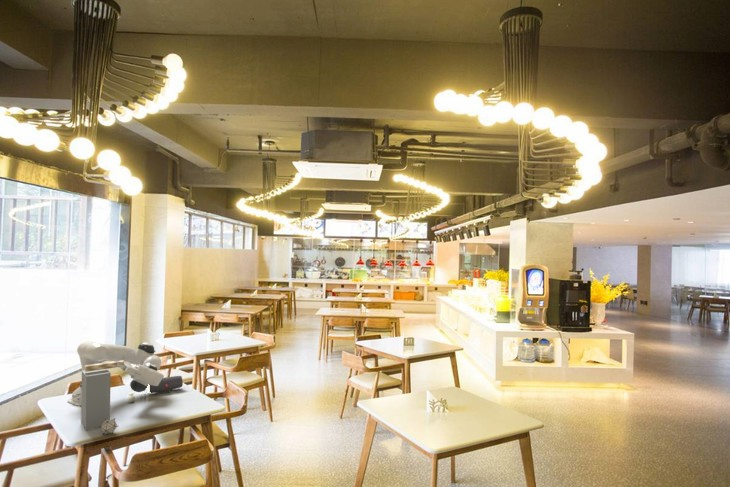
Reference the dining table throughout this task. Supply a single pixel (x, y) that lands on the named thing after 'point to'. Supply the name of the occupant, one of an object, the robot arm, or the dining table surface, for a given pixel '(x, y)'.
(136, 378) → the robot arm
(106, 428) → the dark-edged faceted part
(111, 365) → the wooden bar
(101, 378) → the stand
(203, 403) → the dining table surface
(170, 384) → the bluetooth speaker
